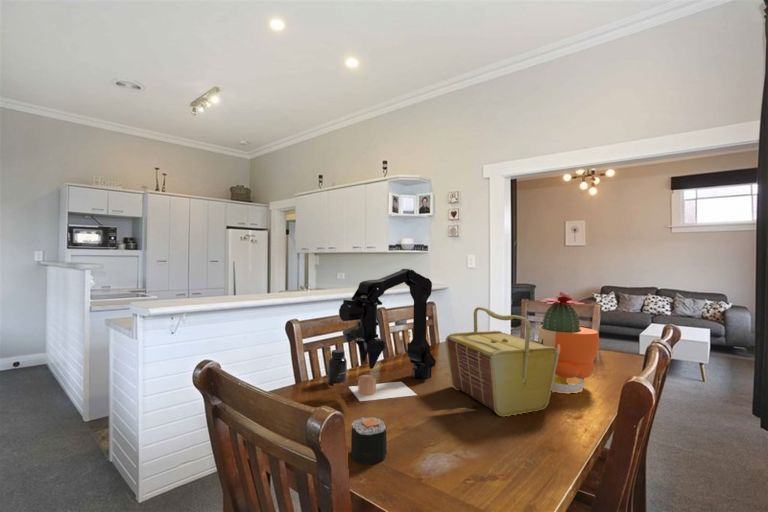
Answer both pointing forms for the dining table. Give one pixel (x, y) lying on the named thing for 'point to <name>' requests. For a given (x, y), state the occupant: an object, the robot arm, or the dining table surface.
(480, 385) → the picnic basket
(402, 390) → the off-white board
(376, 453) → the sushi
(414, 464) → the dining table surface
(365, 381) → the terracotta cap
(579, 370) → the potted cactus
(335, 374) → the supplement bottle
